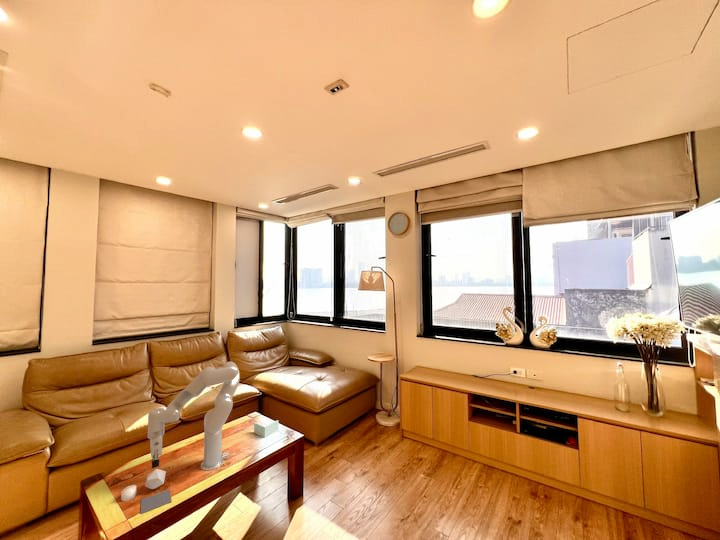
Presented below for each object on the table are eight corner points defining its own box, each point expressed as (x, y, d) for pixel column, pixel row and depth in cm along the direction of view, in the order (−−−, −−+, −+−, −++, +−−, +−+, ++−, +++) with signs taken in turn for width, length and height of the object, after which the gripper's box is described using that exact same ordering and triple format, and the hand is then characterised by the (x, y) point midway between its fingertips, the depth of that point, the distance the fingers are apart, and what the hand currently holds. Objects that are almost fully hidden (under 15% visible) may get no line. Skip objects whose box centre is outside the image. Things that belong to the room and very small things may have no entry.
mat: (169, 489, 149) (169, 488, 149) (171, 502, 140) (171, 501, 140) (141, 500, 142) (141, 499, 142) (140, 514, 133) (140, 513, 133)
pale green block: (278, 430, 208) (278, 420, 208) (264, 438, 198) (264, 427, 198) (267, 426, 214) (267, 416, 215) (254, 433, 204) (254, 422, 205)
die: (162, 480, 156) (162, 461, 156) (167, 487, 150) (168, 468, 151) (143, 489, 149) (143, 469, 150) (148, 497, 144) (148, 476, 144)
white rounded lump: (136, 491, 148) (136, 483, 148) (136, 498, 143) (136, 489, 143) (121, 496, 144) (121, 488, 145) (120, 503, 140) (120, 495, 140)
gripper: (165, 436, 153) (164, 471, 152) (163, 425, 165) (163, 457, 164) (147, 440, 148) (146, 476, 148) (147, 429, 160) (146, 462, 160)
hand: (155, 466), depth 156 cm, fingers closed
